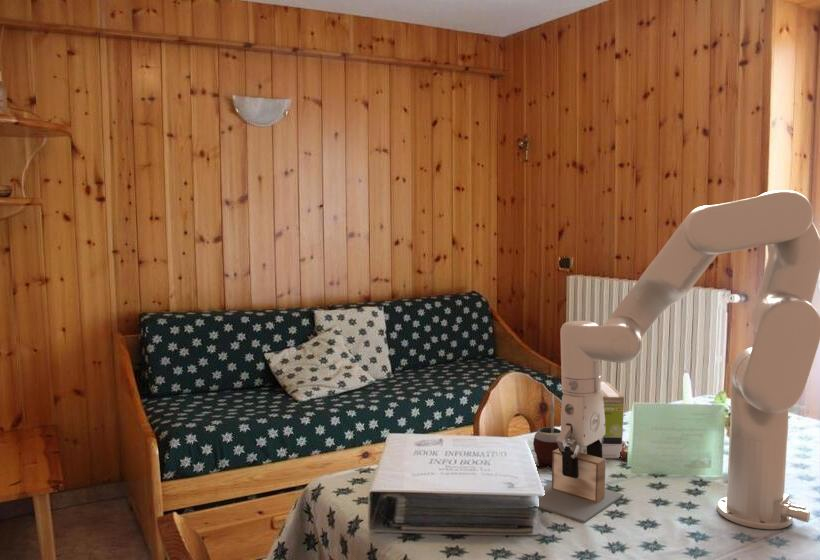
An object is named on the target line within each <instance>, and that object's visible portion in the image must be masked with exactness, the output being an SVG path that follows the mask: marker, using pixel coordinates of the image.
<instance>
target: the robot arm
mask: <svg viewBox="0 0 820 560" xmlns="http://www.w3.org/2000/svg"><path fill="white" fill-rule="evenodd" d="M813 219H814V209H813V205H812V204H811V202H810V201H809V199H808V198H807V197H806V196H805V195H803V194H802V193H800V192H798V191H794V190H791V189H790V190H789V189H781V190H772V191H771V190H770V191H767V192H763V193H762V194H760V195H758V196H752V197H749V198H744V199H739V200H735V201H734V200H733V201H730V202H723V203H719V204H711V205H709V204H708V205H707V204H706V205H702V206H698V207H696V208H694V209H693V210H692V211H690V213H689V214H687V216H686V217H685V218H684V219H683V220H682V222H681V223H680V224H679V225H678V227H677V228H676V230H675V231H674V232H673V233H672V235H671V236H670V237H669V239H668V240H667V242H666V243H665V245H664V246H663V247H662V248H660V249H661V250H660V251H659V252H658V254H657V255H656V256H655V258H653V260H651V262H650V264H649V265H648V266H647V267H646V269H645V270H644V271H643V272H642V274H641V276H640V277H639V278H638V280H637V281H636V283H635V284H634V285H633V287H632V288H631V289H630V291H629V292H627V294H626V296H625V297H624V298H623V299H622V300H621V302H620V303H619V305H618V306H617V307H616V308H615V310H614V311H613V312H612V314H610V317H608V319H607V320H606V322H605V323H604V325H598V324H597V323H596V322H593V321H589V320H572V321H571V320H570V321H566V322H564V323H563V324H562V325H561V328H560V335H559V336H560V363H561V365H560V368H561V372H560V373H561V393H562V400H561V411H560V412H561V414H560V430H561V434H560V435H559V437H558V438H557V443H558V446H559V451H560V452H561V456H562V472H563V475H564V476H568V477H572V478H578V477H579V469H578V458H577V457H576V455H577V452H578V449H579V446H581V447H586V446H587V454H588V455H592V456H596V457H600V458H602V444H600V443H603V436H604V435H605V413H604V403H603V396H602V391H601V382H602V369H601V368H602V367H601V361H603V362H611V363H618V364H625V363H630V362H632V361H633V360H635V359H637V357H638V356H639V355H640V353H641V351H642V349H643V340H642V339H643V337H644V336H645V335H646V334H647V332H648V331H649V330H650V329H651V327H652V326H653V324H654V323H655V322H656V321H657V320H658V318H660V316H661V315H662V314H663V313H664V312H665V310H667V309H668V308H669V307H671V306H672V305H674V304H675V303H677V302H679V301H681V300H682V299H683V298H684V297H685V296H686V295H687V294H688V293H689V292H690V291H691V290H692V288H693V287H694V286H695V285H696V283H697V282H698V281H699V279H700V278H701V276H702V275H703V273H704V272H705V271H706V270H707V269H708V268H709V267H710V264H712V262H713V261H714V260H715V259H716V257H717V256H718V255H720V254H725V253H726V254H727V253H731V252H738V251H739V252H740V251H744V250H750V249H755V248H758V247H762V246H763V247H764V246H766V248H767V259H766V264H765V269H764V273H763V277H762V279H761V283H760V286H759V290H758V293H757V295H756V299H755V302H754V305H753V307H752V310H751V312H750V313H751V314H750V324H751V327H752V330H754V332H755V337H754V341H753V344H752V346H751V347H748V348H746V349H744V350H741V351H740V352H739V354H738V355H736V357H735V358H734V359H733V362H732V364H731V368H730V373H729V374H730V377H729V378H730V379H729V382H730V383H729V385H730V387H729V388H730V390H729V391H730V420H729V421H730V423H729V424H730V425H729V443H728V444H729V445H728V463H727V464H728V465H727V466H728V467H727V482H726V483H727V485H726V496H725V497H722V498H720V499H719V500H718V501H717V505H716V507H717V508H716V509H717V511H718V513H719V514H720V515H721V517H724V518H725V519H727V520H729V521H730V522H733V523H735V524H738V525H741V526H745V527H747V528H748V527H749V528H753V529H759V530H779V529H784V528H787V527H789V526H790V525H792V523H793V519H796V520H798V521H800V522H805V523H809V521H810V519H811V517H810V516H811V515H810V514H811V513H810V511H808V510H806V506H803V505H800V504H795V503H792V501H790V495H789V494H788V493H785V486H786V485H785V484H786V482H785V481H786V471H787V470H786V467H787V466H786V465H787V453H788V452H787V449H788V448H787V447H788V438H789V436H788V435H789V410H790V409H792V408H793V407H794V406H795V405H797V403H798V402H799V401H800V399H801V397H802V396H803V393H804V390H805V388H806V385H807V382H808V379H809V376H810V373H811V370H812V367H813V363H814V361H815V357H816V354H817V350H818V347H819V344H820V314H819V313H818V311H817V309H816V308H815V307H814V305H813V304H812V303H813V298H814V294H815V291H816V287H817V283H818V279H819V276H820V275H819V274H820V235H819V232H818V230H817V228H816V225H815V224H814V222H813ZM573 440H575V441H576V442H575V441H573ZM570 446H571V447H572V449H571V448H570ZM573 446H574V447H573Z"/></svg>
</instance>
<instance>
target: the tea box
mask: <svg viewBox="0 0 820 560" xmlns="http://www.w3.org/2000/svg"><path fill="white" fill-rule="evenodd" d="M601 391H602V396H603V403H604V413H605V435H604V436H603V443H600V444H602V458H604V459H620V458H619V457H620V452H621V451H623V434H624V430H623V429H624V409H625V407H624V406H625V397H624V395H622V394H621V392H619V391H618V390H617V389H616V388H615V387H614V386H613V385H612V384H610V383H609V382H608V381H601ZM573 441H575V440H573ZM575 442H576V441H575ZM573 447H574V446H572V448H573ZM578 452H580V453H584V454H587V446H586V447H581V446H579V449H578Z"/></svg>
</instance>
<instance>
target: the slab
mask: <svg viewBox="0 0 820 560" xmlns="http://www.w3.org/2000/svg"><path fill="white" fill-rule="evenodd" d="M576 457H577V458H578V469H579V477H578V478H572V477H568V476H564V475H563V472H562V456H561V452H560V451H559V448H558V449H556V450H554V451H553V452H552V468H551V469H552V470H551V482H552V490H555V491H559V492H562V493H565V494H568V495H572V496H575V497H578V498H582V499H585V500H588V501H591V502H595V503H598V502H600V501H601V500H603V499H604V494H605V489H606V487H605V486H606V458H600V457H596V456H592V455H588V454H584V453H580V452H577V455H576Z"/></svg>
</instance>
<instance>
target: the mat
mask: <svg viewBox="0 0 820 560" xmlns="http://www.w3.org/2000/svg"><path fill="white" fill-rule="evenodd" d="M543 486H544V490H545V495H544V496H542V497H540V498H539V507H540V508H539V509H541V510H543V511H547V512H550V513H553V514H556V515H559V516H561V517H562V516H563V517H565V518H568V519H571V520H574V521H577V522H581V523H584V524H585V523H586V522H588V521H590V520H591V519H592V518H594V517H595V516H596V515H598V514H599V513H601V512H603V511H604V510H605V509H607V508H608V507H610V506H612V505H613V504H615V503H616V502H617V501H619V500H620V499H622V498H623V497H624V496H625V495H624V493H620V492H617V491H613V490H610V489H607V488H605V494H604V499H603V500H601V501H600V502H598V503H595V502H591V501H588V500H585V499H582V498H578V497H575V496H572V495H568V494H565V493H562V492H559V491H555V490H552V481H550V482H548V483H546V484H545V485H543Z"/></svg>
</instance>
